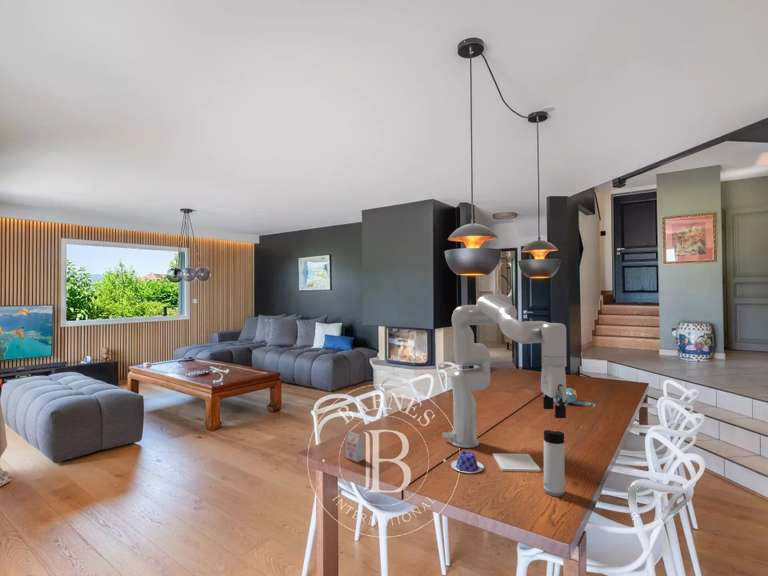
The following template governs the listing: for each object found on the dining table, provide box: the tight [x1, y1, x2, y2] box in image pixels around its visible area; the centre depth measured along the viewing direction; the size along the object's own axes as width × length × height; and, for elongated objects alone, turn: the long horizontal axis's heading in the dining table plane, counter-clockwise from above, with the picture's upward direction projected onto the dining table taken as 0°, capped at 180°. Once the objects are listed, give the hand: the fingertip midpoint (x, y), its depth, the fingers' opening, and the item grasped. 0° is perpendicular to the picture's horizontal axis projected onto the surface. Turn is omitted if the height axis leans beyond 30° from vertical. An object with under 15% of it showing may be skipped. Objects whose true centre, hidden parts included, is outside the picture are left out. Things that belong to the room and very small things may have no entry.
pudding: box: [450, 450, 484, 474], centre depth 150 cm, size 12×12×5 cm
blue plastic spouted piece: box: [553, 387, 597, 407], centre depth 238 cm, size 28×9×15 cm
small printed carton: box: [344, 430, 365, 463], centre depth 157 cm, size 4×7×10 cm, turn 49°
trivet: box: [492, 452, 542, 473], centre depth 153 cm, size 14×14×1 cm
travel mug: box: [543, 429, 566, 497], centre depth 131 cm, size 6×7×20 cm
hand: (554, 413), depth 131 cm, fingers open, 9 cm apart
